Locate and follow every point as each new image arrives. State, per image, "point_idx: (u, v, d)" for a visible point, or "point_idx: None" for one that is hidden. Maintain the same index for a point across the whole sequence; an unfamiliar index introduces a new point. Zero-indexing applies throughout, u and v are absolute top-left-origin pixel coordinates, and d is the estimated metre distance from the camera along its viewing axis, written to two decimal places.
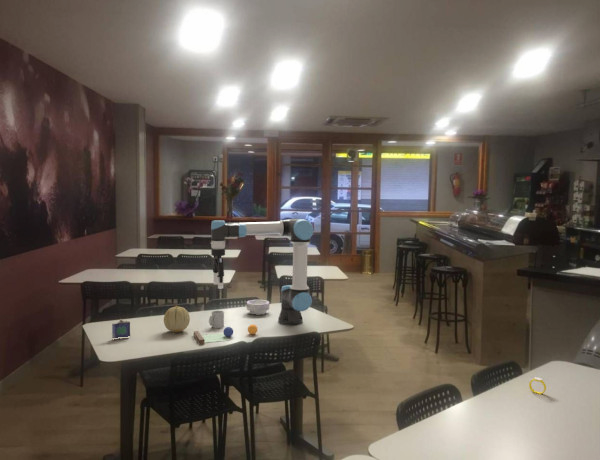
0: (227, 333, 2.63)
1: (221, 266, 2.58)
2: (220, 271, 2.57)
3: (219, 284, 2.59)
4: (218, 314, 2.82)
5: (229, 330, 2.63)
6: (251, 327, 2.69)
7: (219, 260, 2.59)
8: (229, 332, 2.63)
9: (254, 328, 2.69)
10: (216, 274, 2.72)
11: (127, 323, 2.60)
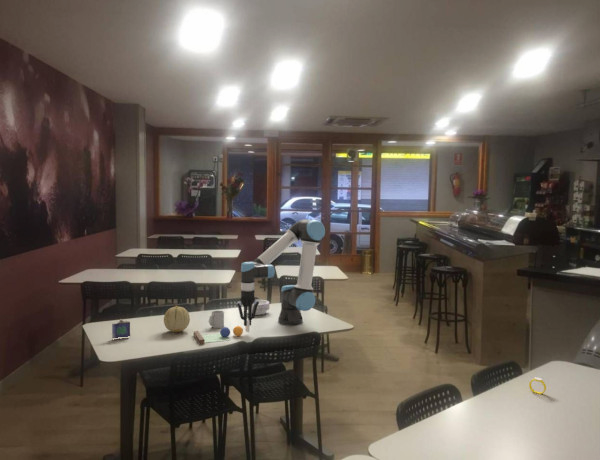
0: (224, 334, 2.62)
1: (239, 310, 2.67)
2: (240, 315, 2.68)
3: None
4: (218, 314, 2.82)
5: (224, 331, 2.62)
6: None
7: (237, 305, 2.67)
8: (225, 332, 2.62)
9: (238, 334, 2.65)
10: None
11: (127, 323, 2.60)
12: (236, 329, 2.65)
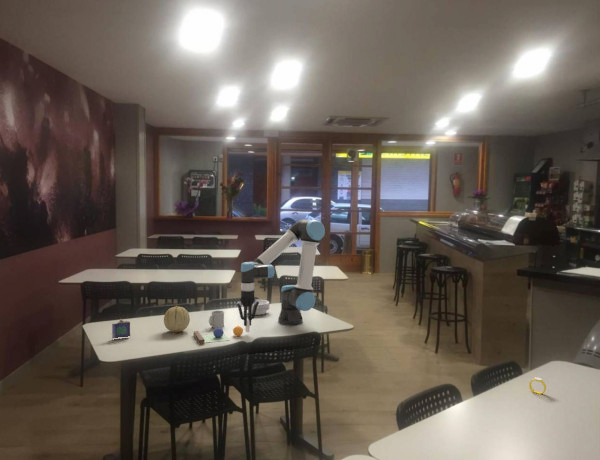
0: (220, 335, 2.62)
1: (239, 310, 2.67)
2: (240, 315, 2.68)
3: None
4: (218, 314, 2.82)
5: (217, 335, 2.61)
6: None
7: (237, 305, 2.67)
8: (219, 334, 2.61)
9: (238, 334, 2.65)
10: None
11: (127, 323, 2.60)
12: (236, 329, 2.65)
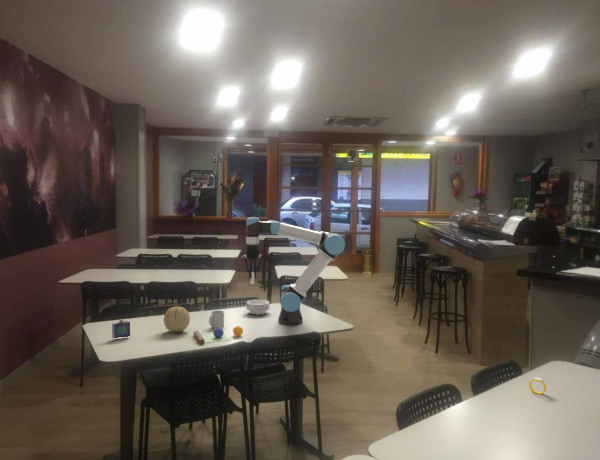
0: (220, 335, 2.62)
1: (244, 263, 2.81)
2: (245, 267, 2.82)
3: None
4: (218, 314, 2.82)
5: (217, 335, 2.61)
6: None
7: None
8: (219, 334, 2.61)
9: (238, 334, 2.65)
10: None
11: (127, 323, 2.60)
12: (236, 329, 2.65)
